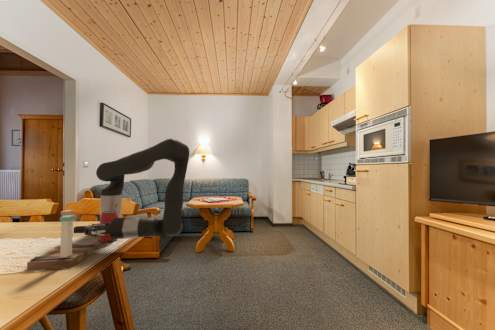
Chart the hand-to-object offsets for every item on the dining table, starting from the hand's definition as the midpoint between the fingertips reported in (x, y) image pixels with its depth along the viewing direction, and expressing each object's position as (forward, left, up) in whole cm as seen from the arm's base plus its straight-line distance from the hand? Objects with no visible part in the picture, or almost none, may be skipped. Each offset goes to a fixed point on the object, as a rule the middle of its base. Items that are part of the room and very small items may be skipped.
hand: (74, 229), depth 86 cm
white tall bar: (0, -2, -5) cm, 6 cm away
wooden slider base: (+5, 0, -8) cm, 10 cm away
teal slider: (+12, +3, -5) cm, 13 cm away
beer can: (-15, +6, -8) cm, 18 cm away
